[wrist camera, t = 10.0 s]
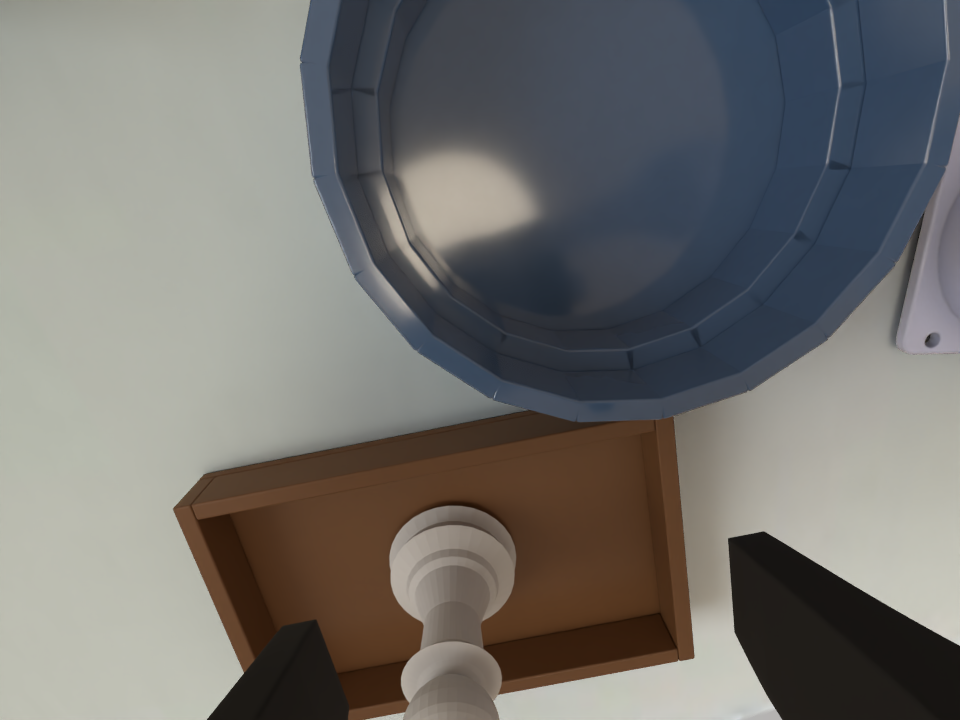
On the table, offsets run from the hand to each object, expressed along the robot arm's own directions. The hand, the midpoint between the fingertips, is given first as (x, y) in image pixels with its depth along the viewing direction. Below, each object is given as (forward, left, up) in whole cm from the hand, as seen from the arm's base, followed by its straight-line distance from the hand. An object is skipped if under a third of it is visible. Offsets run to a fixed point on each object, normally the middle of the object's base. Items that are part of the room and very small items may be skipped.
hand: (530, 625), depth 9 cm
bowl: (-3, -9, -10) cm, 13 cm away
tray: (+2, +6, -10) cm, 12 cm away
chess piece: (+2, +6, -10) cm, 11 cm away
